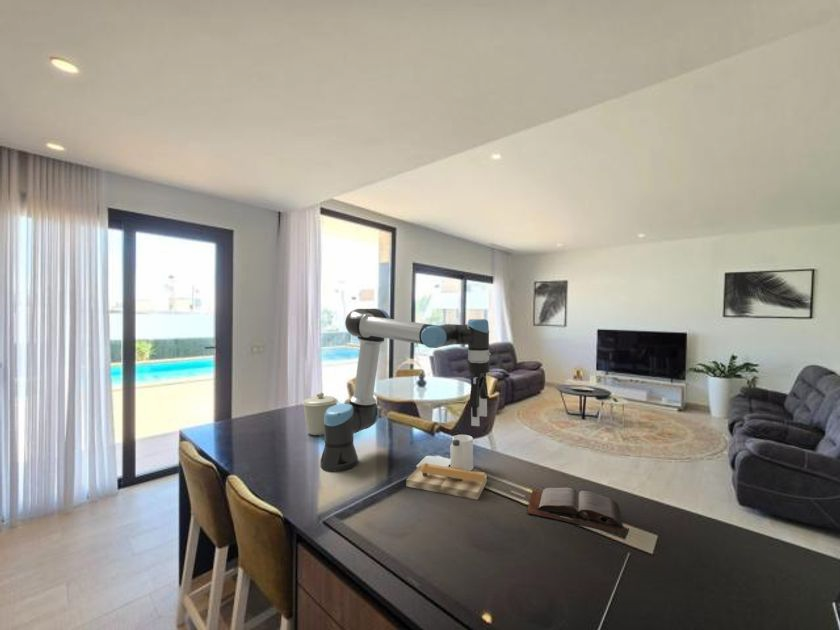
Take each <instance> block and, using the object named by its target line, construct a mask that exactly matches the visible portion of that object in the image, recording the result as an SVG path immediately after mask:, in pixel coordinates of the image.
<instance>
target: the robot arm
mask: <svg viewBox="0 0 840 630" xmlns="http://www.w3.org/2000/svg"><path fill="white" fill-rule="evenodd" d="M344 324H345V325H344V326H345V329H346V331H347V332H348V333H349V334H350V335H352V336H354V337H357V339H358V340H359V342H360V343H359V350H358V351H359V352H358V360H357V368H356V376H355V383H354V391H353V395H351V396H350V397H349V401H348V403H340V404H337V405H335V406H332V407H330V408H328V409H327V410H326V412H325V418H324V432H325V435H324V448H323V451H322V454H321V458H320V468H321V469H322V470H324V471H327V472H343V471H346V470H347V471H348V470H350V469H352V468H354V467H356V466H357V465H358V463H359V457H358V456H359V455H358V454H357V450H356V447H355V444H354V434H356V433H357V434H358V432H359V433H360V432H361V431H364V430H367V429H370V428H371V427H373V426H374V425H375V424H376V423H377V422H378V420H379V418H380V408H379V407H378V406H379V405H378V404H377V400H376V398H375V397H374V393H375V387H376V379H377V371H378V363H379V355H380V348H381V345H382V344H383V343H384V342H385V339H390V340H395V341H401V342H406V343H413V344H417V345H418V344H419V345H423V346H425V347H427V348H429V349H438V348H442V347H446V346H447V347H448V346H453V345H454V346H455V345H464V346H465V345H466V346H468V347H467V348H468V349H467V350H468V352H467V353H468V354H467V355H468V356H467V358H468V359H467V360H468V361H469V362H468V366H467V367H468V372H469V373H471V374H473V377H470V378H471V379H470V381H471V382H470V395H469V404H468V408H470V410H471V411H470V413H471V414H470V418H471V423H470V426H473V427H480V425H481V424H480V417H488V399H489V398H490V396H489V391H488V390H489V389H488V384H487V383H488V382H487V373H489V372H490V362H489V361H490V356H491V354H492V353H491V352H490V327H489V320H487V319H486V318H479V319H478V318H477V319H476V318H472V319H468V320H467V324H456V323H455V324H453V323H452V324H450V323H446V324H440V325H438V324H429V323H422V322H415V321H408V320H401V319H395V318H393V319H392V318H391V316H390V315H389V314H388V312H386V311H385V310H384V309H380V308H356V309H353V310H352V311H350V312H349V313H348V314H347V315H346V317H345V323H344Z"/></svg>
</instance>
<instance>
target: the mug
mask: <svg viewBox="0 0 840 630" xmlns="http://www.w3.org/2000/svg"><path fill="white" fill-rule="evenodd" d="M453 440H459V441H460V443H461V444H462V465H463V470H472V469H473V468H474V469H475V467H474V441H473V440H474V438H473V436H471V435H467V434H457V435H454V436H452V441H453ZM474 469H473V470H474ZM473 470H472V471H473Z"/></svg>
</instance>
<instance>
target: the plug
mask: <svg viewBox="0 0 840 630" xmlns="http://www.w3.org/2000/svg"><path fill="white" fill-rule="evenodd" d="M449 446H450V447H449V456H450V457H449V459H450V466H449V467H451V468H457V469H463V465H462V444H461V443H460V441H459V440H453V439H452V442H451V443H450V444H449ZM449 478H450V479H454V480H460V481H462V480H463V479H458V478H452V477H449Z"/></svg>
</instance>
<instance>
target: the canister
mask: <svg viewBox="0 0 840 630" xmlns="http://www.w3.org/2000/svg"><path fill="white" fill-rule="evenodd" d="M338 402H339V399H337V398H336V397H334V396H329V395H325V394H324V392H322V391H319V392H317V393H316V396H311V397H308V398H306V399H305V400H303V401H302V402H301V404H302V405H303V411H304V412H303V413H304V419H305V425H306V431H307V433H308V434H309V435H312V436H317V435H318V436H325V432H324V418H325V412H326V410H327V409H328V408H330V407H332V406H335V405H338V404H337V403H338Z"/></svg>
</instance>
